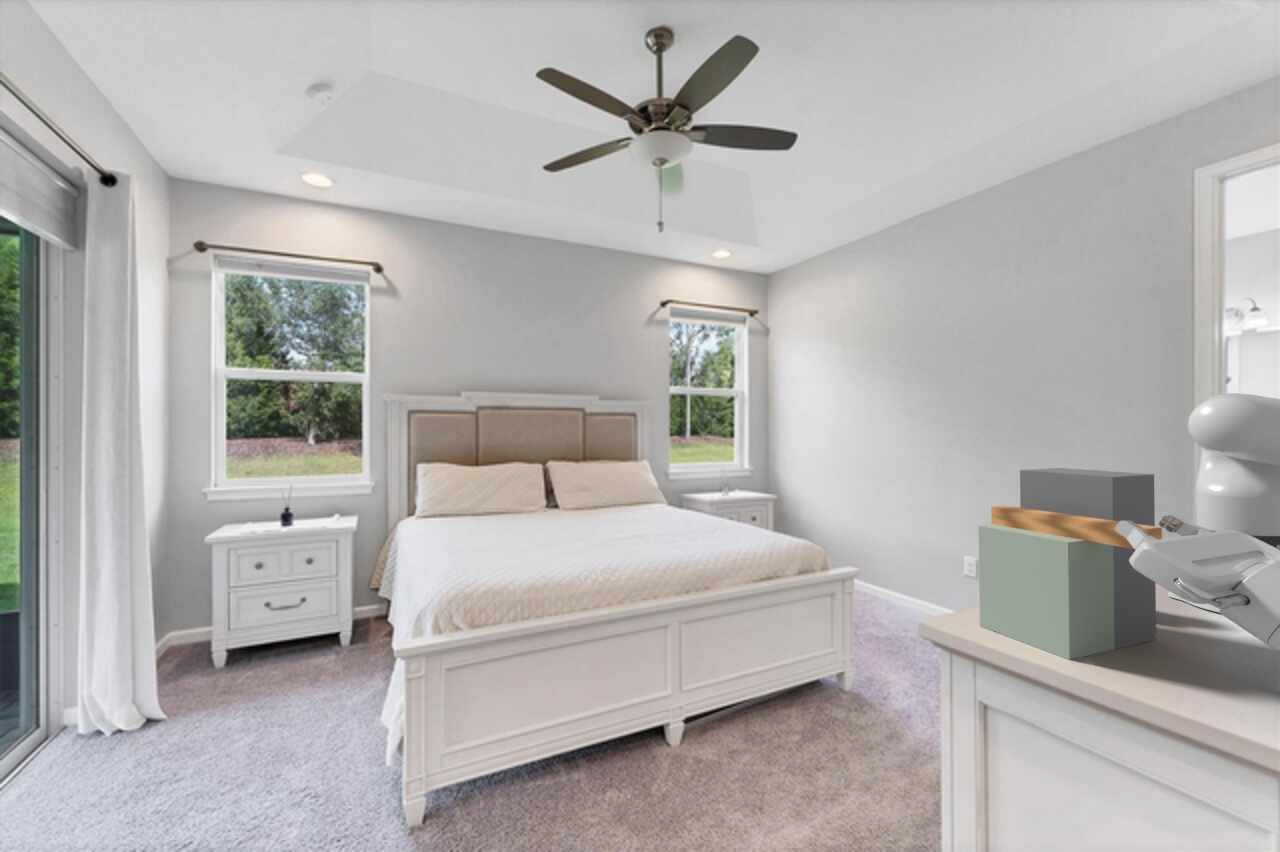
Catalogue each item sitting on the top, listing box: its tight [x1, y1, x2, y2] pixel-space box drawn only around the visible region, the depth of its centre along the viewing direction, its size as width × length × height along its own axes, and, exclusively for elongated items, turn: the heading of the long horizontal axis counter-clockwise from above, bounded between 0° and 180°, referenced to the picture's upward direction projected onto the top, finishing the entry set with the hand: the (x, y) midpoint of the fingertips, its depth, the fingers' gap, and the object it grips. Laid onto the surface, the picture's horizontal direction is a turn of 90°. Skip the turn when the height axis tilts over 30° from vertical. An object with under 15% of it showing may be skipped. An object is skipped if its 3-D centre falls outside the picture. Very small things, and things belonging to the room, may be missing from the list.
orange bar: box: [990, 504, 1163, 549], centre depth 83 cm, size 22×3×3 cm, turn 20°
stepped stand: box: [978, 467, 1157, 660], centre depth 88 cm, size 14×20×26 cm
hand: (1142, 521), depth 73 cm, fingers open, 8 cm apart
